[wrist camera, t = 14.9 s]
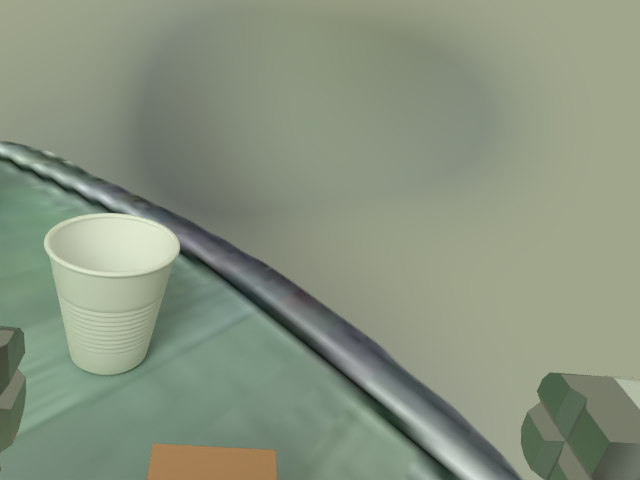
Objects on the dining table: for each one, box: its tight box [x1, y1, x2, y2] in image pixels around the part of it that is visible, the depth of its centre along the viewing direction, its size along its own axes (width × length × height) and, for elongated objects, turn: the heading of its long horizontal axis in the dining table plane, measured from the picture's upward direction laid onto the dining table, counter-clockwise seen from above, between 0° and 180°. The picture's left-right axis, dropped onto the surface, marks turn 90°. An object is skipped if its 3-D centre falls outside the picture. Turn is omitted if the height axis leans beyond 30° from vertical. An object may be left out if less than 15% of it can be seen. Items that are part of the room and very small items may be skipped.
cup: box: [44, 213, 180, 375], centre depth 48 cm, size 10×10×11 cm
